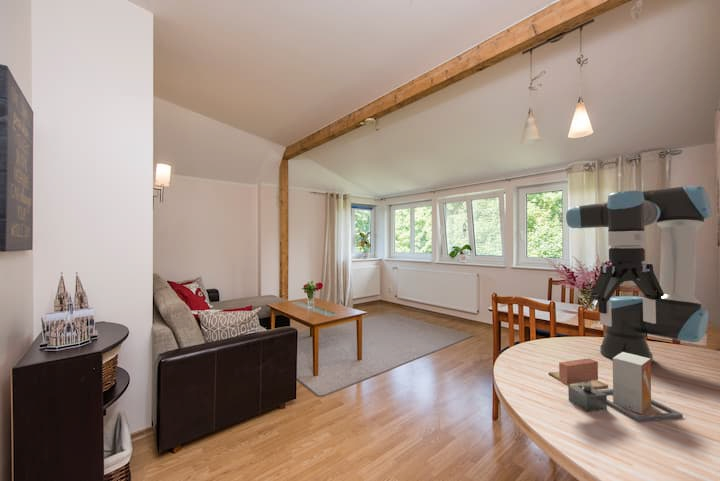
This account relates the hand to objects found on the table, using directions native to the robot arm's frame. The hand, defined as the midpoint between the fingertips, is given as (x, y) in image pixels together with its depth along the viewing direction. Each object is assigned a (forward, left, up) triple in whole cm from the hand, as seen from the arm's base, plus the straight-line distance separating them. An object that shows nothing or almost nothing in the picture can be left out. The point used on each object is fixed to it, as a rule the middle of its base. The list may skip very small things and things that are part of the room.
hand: (627, 323), depth 83 cm
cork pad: (+2, -15, -22) cm, 27 cm away
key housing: (+11, -2, -22) cm, 25 cm away
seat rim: (-1, 0, -22) cm, 22 cm away
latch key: (+14, -1, -18) cm, 23 cm away
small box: (-1, 0, -23) cm, 23 cm away
